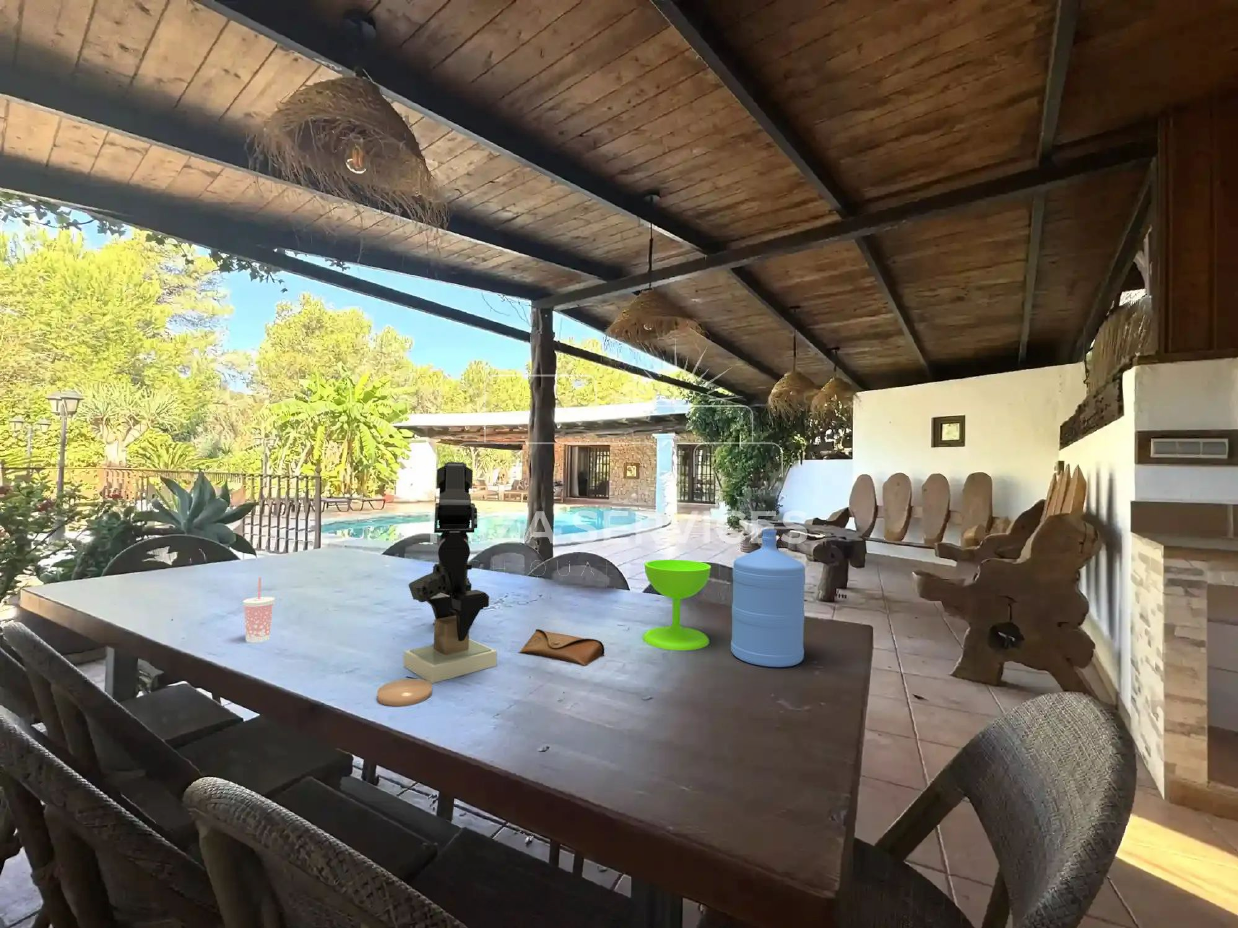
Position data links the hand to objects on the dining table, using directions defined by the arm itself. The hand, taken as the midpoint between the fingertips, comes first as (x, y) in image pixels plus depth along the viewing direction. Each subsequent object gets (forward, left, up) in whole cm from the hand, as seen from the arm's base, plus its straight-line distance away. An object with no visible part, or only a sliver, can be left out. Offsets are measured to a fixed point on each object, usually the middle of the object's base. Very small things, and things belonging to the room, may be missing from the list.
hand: (451, 636), depth 112 cm
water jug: (+40, +55, -6) cm, 68 cm away
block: (0, 0, -3) cm, 3 cm away
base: (0, 0, -6) cm, 6 cm away
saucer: (+8, -13, -6) cm, 16 cm away
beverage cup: (-44, -24, -6) cm, 50 cm away
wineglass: (+19, +49, -6) cm, 53 cm away
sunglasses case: (+9, +21, -7) cm, 24 cm away
